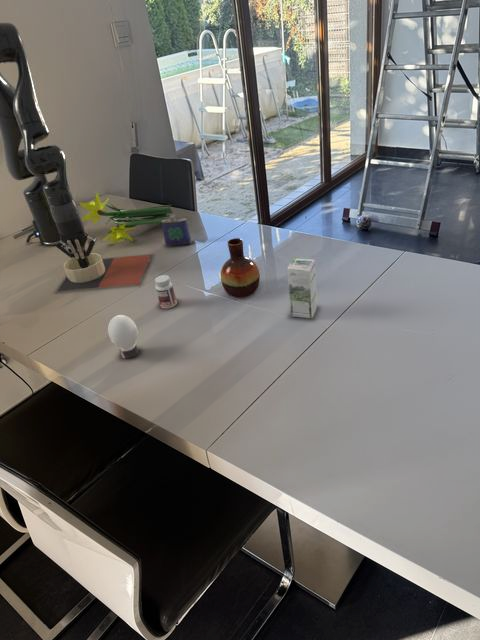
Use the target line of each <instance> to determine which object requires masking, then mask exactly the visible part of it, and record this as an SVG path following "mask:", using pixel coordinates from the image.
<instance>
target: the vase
mask: <svg viewBox="0 0 480 640" xmlns="http://www.w3.org/2000/svg"><path fill="white" fill-rule="evenodd" d="M227 247H228V251H229V255H230V256H229V257H230V258H229V259H227V260H226V261H225V262H224V264H223V265H222V266H221V270H220V274H219V275H220V283H221V286H222V288H223V289H224V291H225V292H226V293H227V294H228V295H229V296H230V297H233V298H237V299H242V298H243V299H244V298H247V297H250V296H252V295H254V293H256V291H257V290H258V288H259V286H260V282H261V281H260V280H261V274H260V269H259V267H258V265H257V264H256V262H254V260H253V259H251V258H249V257H247V256H245V253H244V242H243V239H242V238H239V237H238V238H237V237H234V238H231V239H229V240H228V241H227Z"/></svg>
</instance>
